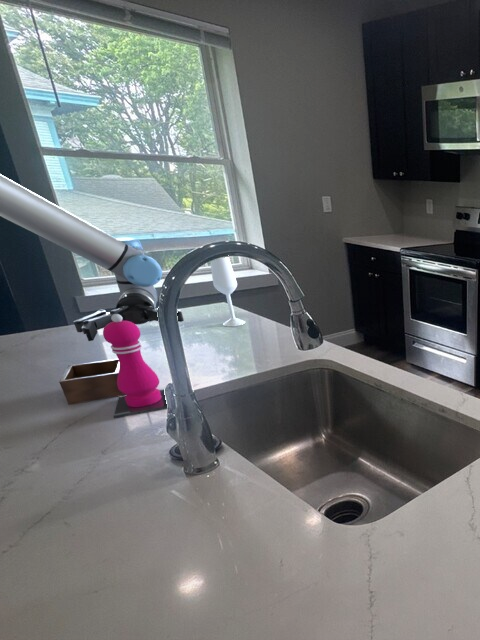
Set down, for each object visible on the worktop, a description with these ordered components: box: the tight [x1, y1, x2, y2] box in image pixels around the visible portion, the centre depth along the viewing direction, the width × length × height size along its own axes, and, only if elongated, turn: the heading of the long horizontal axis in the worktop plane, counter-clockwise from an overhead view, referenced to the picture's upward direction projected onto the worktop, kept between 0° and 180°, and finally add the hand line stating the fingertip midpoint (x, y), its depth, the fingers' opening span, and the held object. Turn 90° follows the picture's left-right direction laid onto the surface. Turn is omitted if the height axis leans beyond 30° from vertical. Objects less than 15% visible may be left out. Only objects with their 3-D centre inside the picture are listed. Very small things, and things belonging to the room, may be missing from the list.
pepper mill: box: [102, 314, 161, 407], centre depth 100 cm, size 7×7×20 cm
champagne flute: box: [209, 256, 246, 327], centre depth 150 cm, size 7×7×24 cm
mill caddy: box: [58, 358, 126, 405], centre depth 108 cm, size 10×10×6 cm
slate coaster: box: [113, 388, 168, 419], centre depth 104 cm, size 10×10×1 cm
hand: (127, 330), depth 104 cm, fingers open, 13 cm apart
